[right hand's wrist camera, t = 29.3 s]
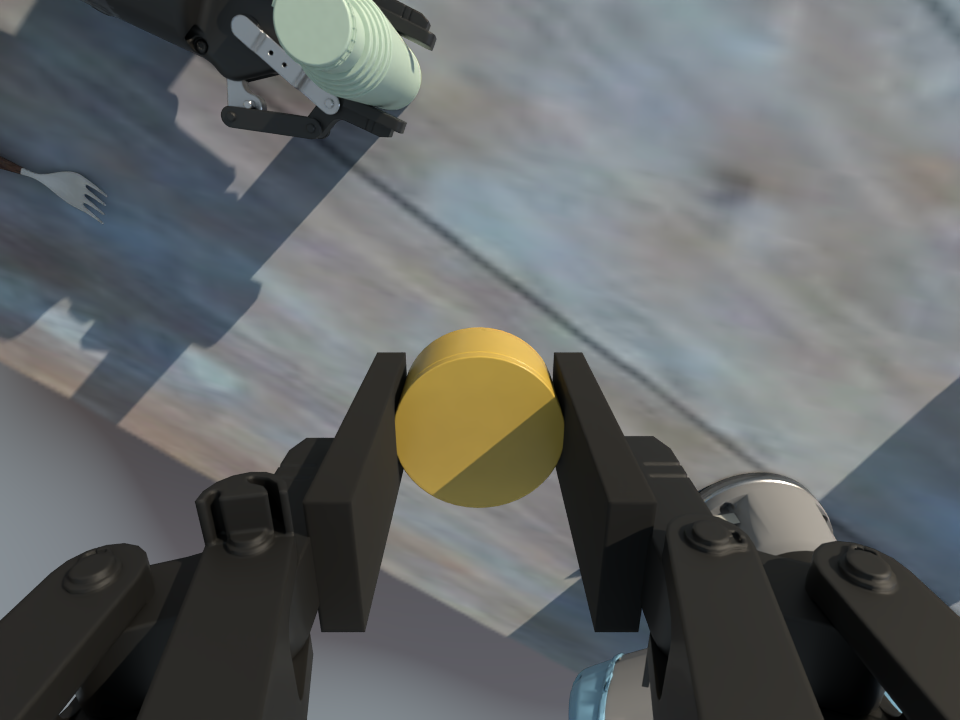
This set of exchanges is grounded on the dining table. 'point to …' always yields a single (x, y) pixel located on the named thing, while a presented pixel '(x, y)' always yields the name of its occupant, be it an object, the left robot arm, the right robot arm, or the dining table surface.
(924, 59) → the dining table surface
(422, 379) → the cap
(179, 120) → the dining table surface
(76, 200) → the fork
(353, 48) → the bottle
